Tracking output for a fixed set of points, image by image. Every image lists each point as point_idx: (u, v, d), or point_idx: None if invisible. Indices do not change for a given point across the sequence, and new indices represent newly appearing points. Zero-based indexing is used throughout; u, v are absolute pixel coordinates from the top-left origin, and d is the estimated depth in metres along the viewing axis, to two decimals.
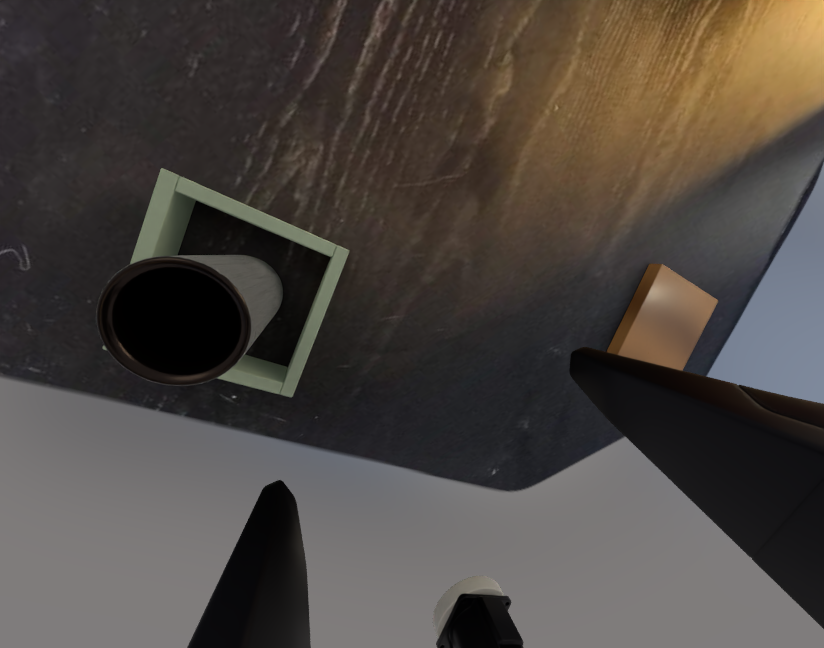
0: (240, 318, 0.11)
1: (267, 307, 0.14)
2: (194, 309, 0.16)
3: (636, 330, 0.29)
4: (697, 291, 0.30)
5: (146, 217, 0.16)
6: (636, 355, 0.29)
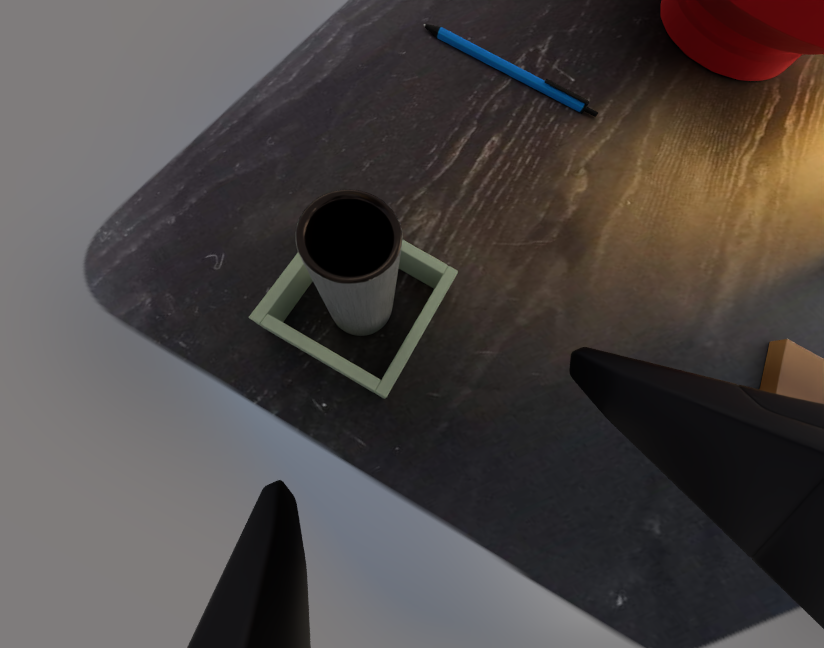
0: (394, 239, 0.14)
1: None
2: None
3: None
4: None
5: None
6: None
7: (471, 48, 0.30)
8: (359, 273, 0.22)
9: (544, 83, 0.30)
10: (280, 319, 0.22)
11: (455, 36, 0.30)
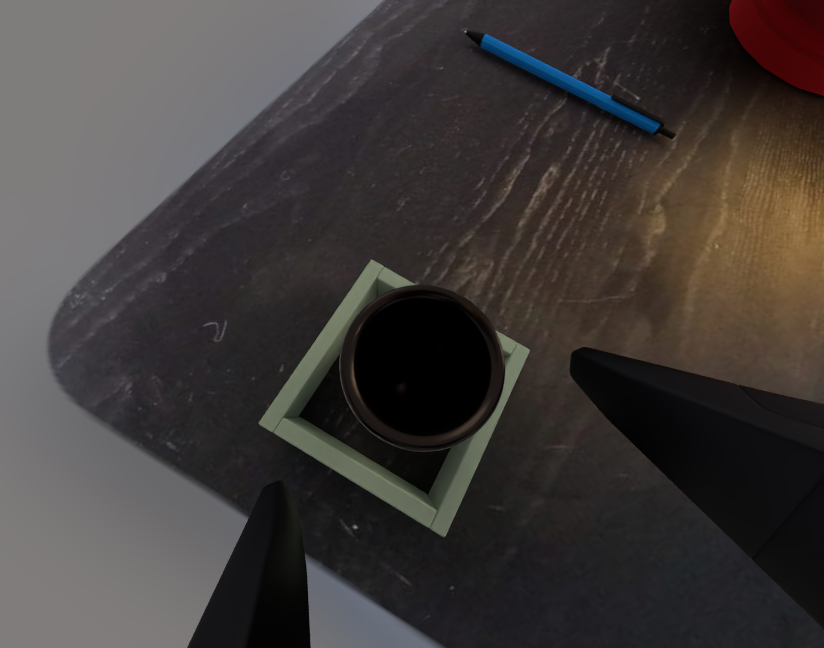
0: (493, 367, 0.09)
1: None
2: None
3: None
4: None
5: (346, 297, 0.16)
6: None
7: (521, 59, 0.25)
8: (400, 351, 0.17)
9: (610, 99, 0.25)
10: (298, 411, 0.17)
11: (503, 44, 0.25)
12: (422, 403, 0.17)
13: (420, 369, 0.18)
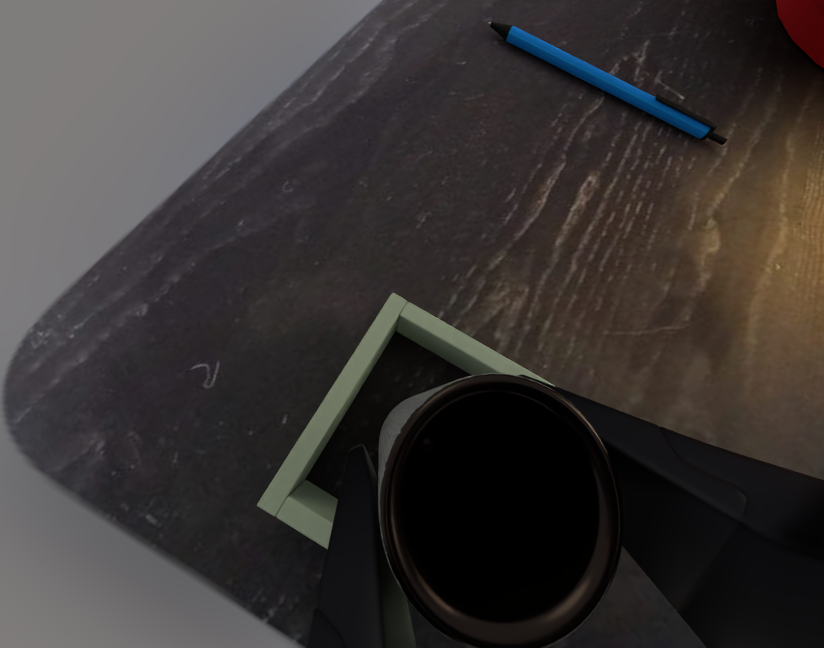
0: (605, 503, 0.06)
1: None
2: None
3: None
4: None
5: (363, 339, 0.13)
6: None
7: (553, 54, 0.23)
8: None
9: (654, 100, 0.22)
10: (305, 476, 0.14)
11: (532, 38, 0.23)
12: (452, 463, 0.15)
13: (449, 420, 0.15)
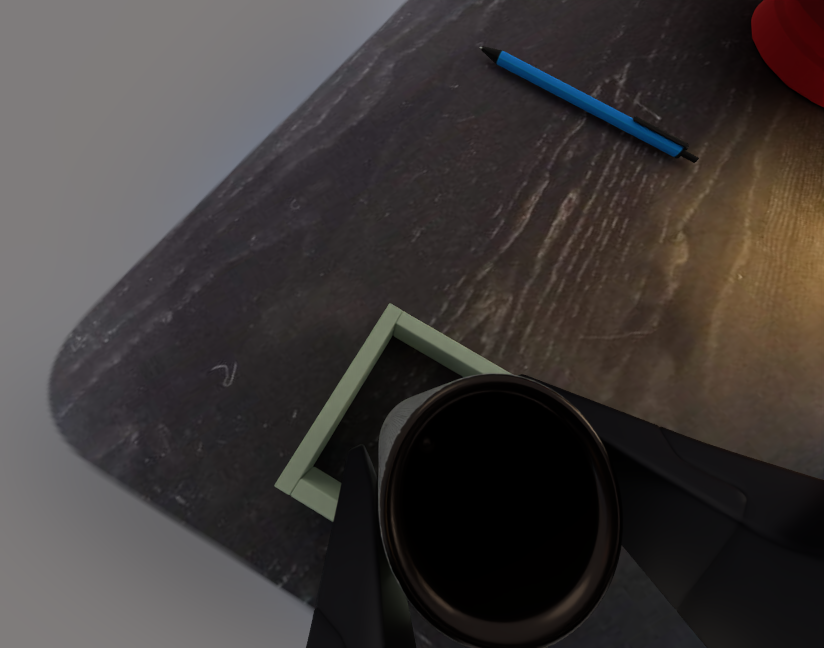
0: (605, 503, 0.06)
1: None
2: None
3: None
4: None
5: (364, 345, 0.15)
6: None
7: (540, 77, 0.24)
8: None
9: (632, 121, 0.24)
10: (313, 463, 0.16)
11: (520, 62, 0.24)
12: (451, 462, 0.15)
13: (449, 420, 0.15)
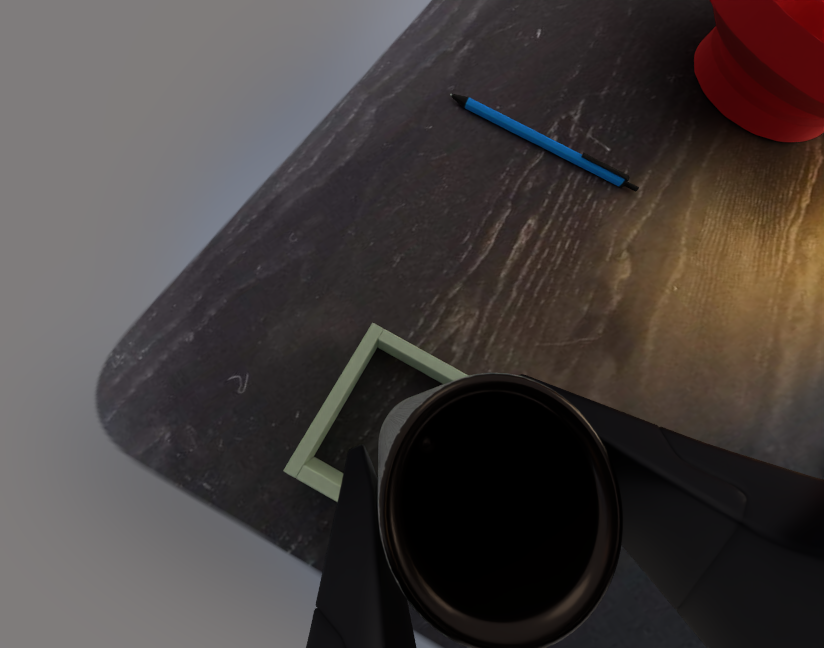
0: (605, 503, 0.06)
1: None
2: None
3: None
4: None
5: (352, 357, 0.19)
6: None
7: (501, 120, 0.28)
8: None
9: (581, 157, 0.28)
10: (313, 454, 0.20)
11: (484, 107, 0.28)
12: (451, 463, 0.15)
13: (449, 420, 0.15)
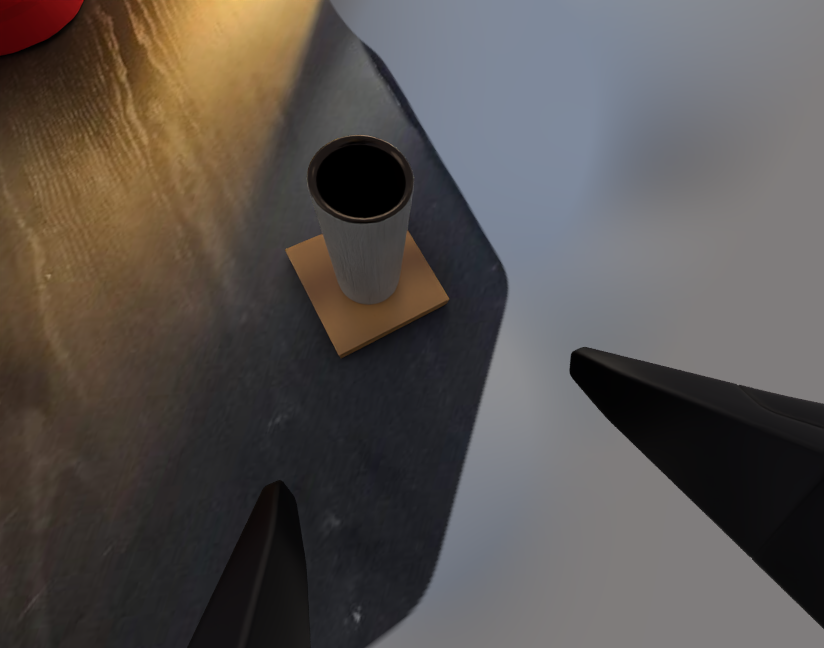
0: (406, 183, 0.13)
1: (406, 232, 0.17)
2: None
3: (331, 316, 0.22)
4: None
5: None
6: (362, 331, 0.22)
7: None
8: None
9: None
10: None
11: None
12: None
13: None
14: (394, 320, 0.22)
